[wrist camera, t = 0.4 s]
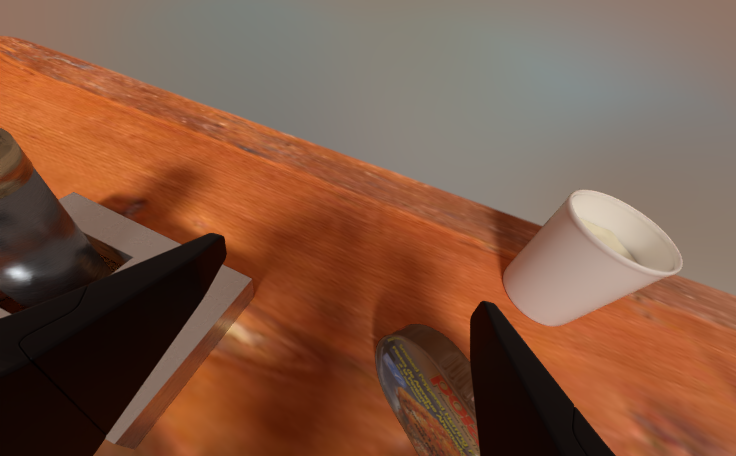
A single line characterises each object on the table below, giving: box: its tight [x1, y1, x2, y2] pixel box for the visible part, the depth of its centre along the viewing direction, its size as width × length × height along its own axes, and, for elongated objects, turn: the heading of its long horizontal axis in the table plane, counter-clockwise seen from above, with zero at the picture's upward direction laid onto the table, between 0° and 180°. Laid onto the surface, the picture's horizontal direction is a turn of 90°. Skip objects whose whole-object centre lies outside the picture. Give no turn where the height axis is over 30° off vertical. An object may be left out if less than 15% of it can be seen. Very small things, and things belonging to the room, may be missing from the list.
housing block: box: [0, 192, 254, 449], centre depth 21 cm, size 12×18×3 cm, turn 68°
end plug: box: [0, 128, 113, 309], centre depth 18 cm, size 5×5×13 cm
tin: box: [375, 324, 480, 456], centre depth 18 cm, size 15×3×8 cm, turn 32°
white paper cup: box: [503, 190, 683, 326], centre depth 30 cm, size 10×10×12 cm
